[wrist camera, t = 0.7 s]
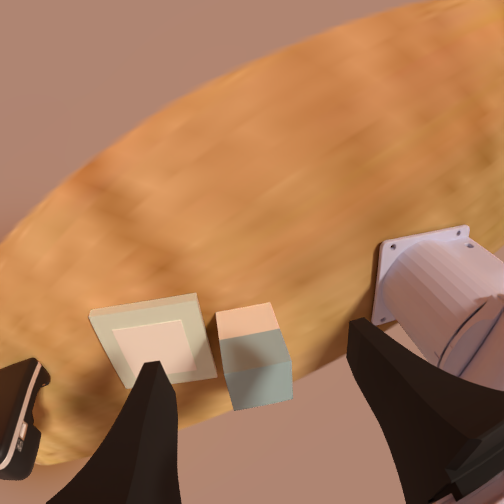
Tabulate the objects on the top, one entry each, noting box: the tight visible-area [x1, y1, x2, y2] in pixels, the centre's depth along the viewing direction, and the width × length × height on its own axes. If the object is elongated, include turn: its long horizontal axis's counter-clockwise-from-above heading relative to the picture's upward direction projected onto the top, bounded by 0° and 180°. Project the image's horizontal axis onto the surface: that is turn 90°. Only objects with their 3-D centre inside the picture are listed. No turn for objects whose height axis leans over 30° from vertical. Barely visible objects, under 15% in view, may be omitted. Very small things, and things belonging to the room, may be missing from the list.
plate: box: [89, 293, 218, 389], centre depth 23 cm, size 8×8×1 cm
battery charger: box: [0, 358, 50, 480], centre depth 18 cm, size 7×4×11 cm, turn 111°
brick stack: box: [216, 302, 293, 411], centre depth 22 cm, size 4×4×6 cm
